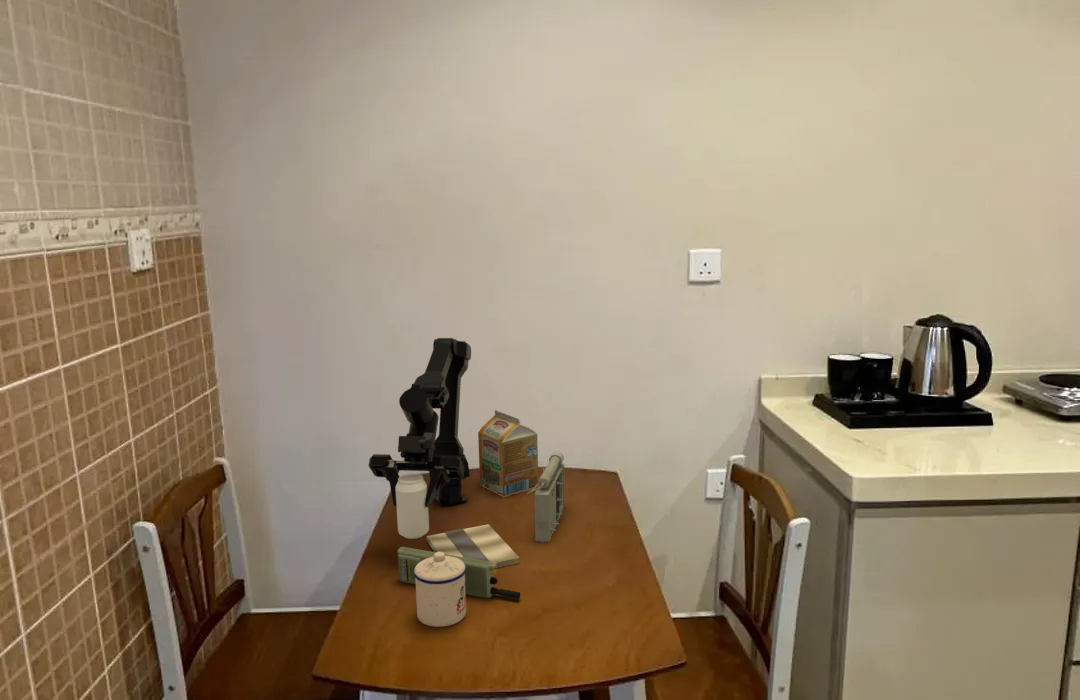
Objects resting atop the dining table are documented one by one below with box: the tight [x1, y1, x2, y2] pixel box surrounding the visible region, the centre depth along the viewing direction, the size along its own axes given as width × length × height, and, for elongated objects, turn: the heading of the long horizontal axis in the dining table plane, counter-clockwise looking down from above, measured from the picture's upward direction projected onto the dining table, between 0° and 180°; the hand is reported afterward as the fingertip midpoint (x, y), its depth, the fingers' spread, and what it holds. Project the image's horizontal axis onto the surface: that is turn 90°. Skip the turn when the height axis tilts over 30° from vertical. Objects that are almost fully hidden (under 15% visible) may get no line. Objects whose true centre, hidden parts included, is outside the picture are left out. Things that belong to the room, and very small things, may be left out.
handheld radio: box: [397, 546, 521, 600], centre depth 150 cm, size 7×3×25 cm
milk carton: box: [477, 409, 539, 496], centre depth 200 cm, size 11×11×19 cm
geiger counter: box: [525, 450, 566, 543], centre depth 181 cm, size 14×6×25 cm
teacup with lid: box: [414, 552, 467, 628], centre depth 142 cm, size 12×9×12 cm
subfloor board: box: [426, 523, 520, 569], centre depth 166 cm, size 18×14×1 cm
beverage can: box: [395, 473, 430, 540], centre depth 161 cm, size 6×6×12 cm
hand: (410, 506), depth 159 cm, fingers closed on beverage can, 6 cm apart
